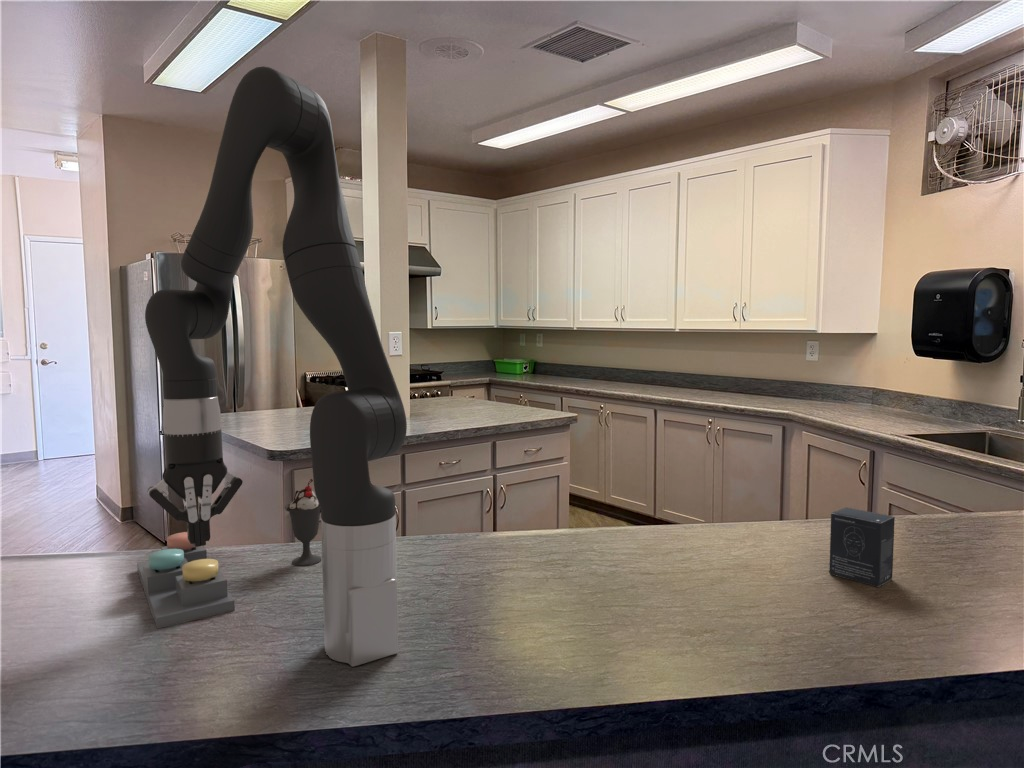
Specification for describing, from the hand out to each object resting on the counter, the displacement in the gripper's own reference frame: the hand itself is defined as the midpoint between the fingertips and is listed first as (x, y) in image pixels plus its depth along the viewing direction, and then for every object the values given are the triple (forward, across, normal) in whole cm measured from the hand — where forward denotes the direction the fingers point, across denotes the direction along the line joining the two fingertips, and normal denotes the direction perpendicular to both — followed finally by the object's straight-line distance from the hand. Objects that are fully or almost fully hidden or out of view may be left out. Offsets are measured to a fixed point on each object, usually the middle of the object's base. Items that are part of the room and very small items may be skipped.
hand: (199, 544), depth 96 cm
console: (+9, -2, +8) cm, 12 cm away
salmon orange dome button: (+7, 0, +16) cm, 18 cm away
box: (+11, +90, -51) cm, 104 cm away
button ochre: (+7, 0, 0) cm, 7 cm away
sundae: (+9, +18, +9) cm, 23 cm away
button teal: (+7, -3, +8) cm, 11 cm away
